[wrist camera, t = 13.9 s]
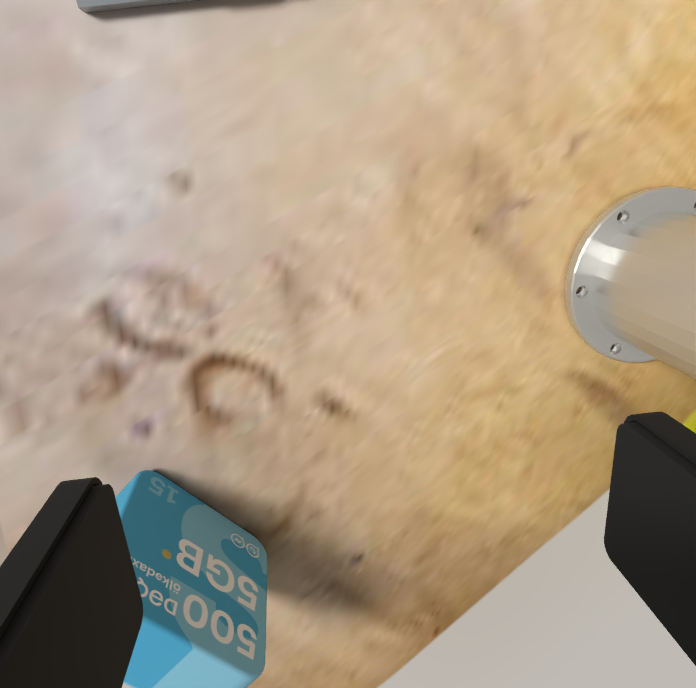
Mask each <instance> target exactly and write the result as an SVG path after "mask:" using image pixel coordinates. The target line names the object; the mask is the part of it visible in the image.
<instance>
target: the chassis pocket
mask: <svg viewBox="0 0 696 688" xmlns="http://www.w3.org/2000/svg"><path fill="white" fill-rule="evenodd" d="M76 1H77V4H78V8H79V9H81V10H82V11H83V12H85V13H86V12H96V11H105V10H114V9H123V8H132V7H141V6H151V5H160V4H169V3H178V2H187V1H196V0H76Z"/></svg>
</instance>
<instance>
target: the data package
mask: <svg viewBox="0 0 696 688" xmlns="http://www.w3.org/2000/svg"><path fill="white" fill-rule="evenodd" d="M115 498H116V502H117V506H118V510H119V514H120V518H121V521H122V525H123V529H124V533H125V537H126V540H127V544H128V548H129V552H130V556H131V560H132V563H133V567H134V571H135V575H136V579H137V583H138V586H139V590H140V594H141V598H142V602H143V619H142V624H141V628H140V631H139V634H138V637H137V640H136V644H135V647H134V650H133V653H132V656H131V659H130V663H129V666H128V669H127V672H126V675H125V678H124V682H123V683H125V684H127V685H129V686H131V687H133V688H247V687H248V686H249V685H250V684H251V683H252V682H253V681H254V680H255V679H257V678H258V677H259V676H260V675H261V673H262V672H263V669H264V666H265V649H266V605H267V554H266V551H265V549H264V547H263V546H262V544H261V543H260V542H259V540H258V539H257V538H255V537H254V536H253V535H251V534H250V533H248V532H247V531H245V530H244V529H242V528H241V527H239V526H238V525H236V524H235V523H233V522H232V521H230V520H229V519H227V518H226V517H224V516H223V515H221V514H220V513H218V512H217V511H215V510H214V509H212V508H211V507H209V506H208V505H206V504H205V503H203V502H202V501H200V500H199V499H197V498H196V497H194V496H192V495H191V494H189V493H188V492H186V491H185V490H183V489H182V488H180V487H179V486H177V485H176V484H174V483H173V482H171V481H170V480H168V479H167V478H165V477H164V476H162V475H161V474H159V473H157V472H154V471H148V470H147V471H142V472H140V473H138V474H137V475H136V476H135V477H134V478H133V479H132V480H131V482H130V483H129V484H128V485H127V486H126V487H125V488H124V489H123V490H122V491H121V492H120V493H119V494H118V495H117V496H116V497H115Z"/></svg>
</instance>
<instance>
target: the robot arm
mask: <svg viewBox="0 0 696 688" xmlns="http://www.w3.org/2000/svg"><path fill="white" fill-rule="evenodd" d="M577 289H578V290H577ZM565 301H566V309H567V313H568V315H569V318H570V321H571V324H572V326H573V327H574V329H575V331H576V332H577V334H578V335H579V337H580V338H581V339H582V340H583V341H584V342H585V343H586V344H587V345H588V346H590V347H591V348H593V349H594V350H596V351H597V352H599V353H601V354H603V355H605V356H607V357H609V358H611V359H614V360H619V361H623V362H647V361H652V360H657V359H658V360H660V361H662V362H664V363H666V364H668V365H669V366H671V367H673V368H675V369H677V370H679V371H681V372H683V373H685V374H686V375H688V376H690V377H692V378H694V379H696V190H693V189H687V188H682V187H667V186H662V187H655V188H648V189H644V190H641V191H639V192H636V193H633V194H630V195H628V196H626V197H625V198H623V199H621V200H619V201H618V202H616V203H614V204H613V205H612V206H610V207H609V208H608V209H607V210H606V211H604V212H603V213H602V214H601V215H599V217H598V218H597V219H596V220H595V221H594V222H593V223H592V224H591V226H590V227H589V228H588V229H587V230H586V232H585V233H584V235H583V237H582V238H581V240H580V241H579V243H578V244H577V246H576V249H575V251H574V253H573V256H572V258H571V260H570V263H569V267H568V271H567V275H566V283H565ZM604 544H605V548H606V552H607V554H608V556H609V558H610V559H611V561H612V562H613V563H614V564H615V566H616V567H617V568H618V569H619V571H620V572H621V573H622V574H623V576H624V577H625V578H626V579H627V580H628V582H629V583H630V584H631V586H632V587H633V588H634V589H635V591H636V592H637V593H638V594H639V596H640V597H641V598H642V599H643V601H644V602H645V603H646V604H647V606H648V607H649V608H650V609H651V611H652V612H653V613H654V614H655V616H656V617H657V618H658V619H659V620H660V622H661V623H662V624H663V626H664V627H665V628H666V629H667V631H668V632H669V633H670V634H671V635H672V637H673V638H674V639H675V640H676V642H677V643H678V644H679V646H680V647H681V648H682V649H683V651H684V652H685V653H686V654H687V655H688V657H689V658H690V659H691V660H692V662H693V663H694V664H695V665H696V434H695V433H694V432H692V431H691V430H690V429H688V428H687V427H685V426H684V425H682V424H681V423H679V422H678V421H676V420H675V419H673V418H672V417H670V416H669V415H667V414H665V413H663V412H652V413H643V414H635V415H630V416H628V417H627V418H626V420H625V422H624V424H621V425H619V427H618V429H617V434H616V443H615V451H614V460H613V468H612V476H611V485H610V493H609V502H608V511H607V518H606V527H605V536H604ZM142 619H143V602H142V598H141V594H140V590H139V586H138V583H137V579H136V575H135V571H134V567H133V563H132V560H131V556H130V552H129V548H128V544H127V540H126V537H125V533H124V529H123V525H122V521H121V518H120V514H119V510H118V506H117V502H116V498H115V495H114V491H113V488H112V487H111V485H109V484H106V485H102V482H101V481H100V479H98V478H96V477H94V478H86V479H77V480H69V481H63V482H61V483H60V484H59V485H58V486H57V487H56V488H55V490H54V491H53V493H52V494H51V496H50V497H49V498H48V500H47V501H46V503H45V504H44V505H43V507H42V508H41V510H40V511H39V513H38V514H37V515H36V517H35V518H34V520H33V521H32V522H31V524H30V525H29V527H28V528H27V530H26V531H25V532H24V534H23V535H22V537H21V538H20V539H19V541H18V542H17V544H16V545H15V547H14V548H13V549H12V551H11V552H10V554H9V555H8V556H7V558H6V559H5V561H4V562H3V564H2V565H1V567H0V688H122V684H123V682H124V678H125V675H126V672H127V669H128V666H129V663H130V659H131V656H132V653H133V650H134V647H135V644H136V640H137V637H138V634H139V631H140V628H141V624H142Z"/></svg>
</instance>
